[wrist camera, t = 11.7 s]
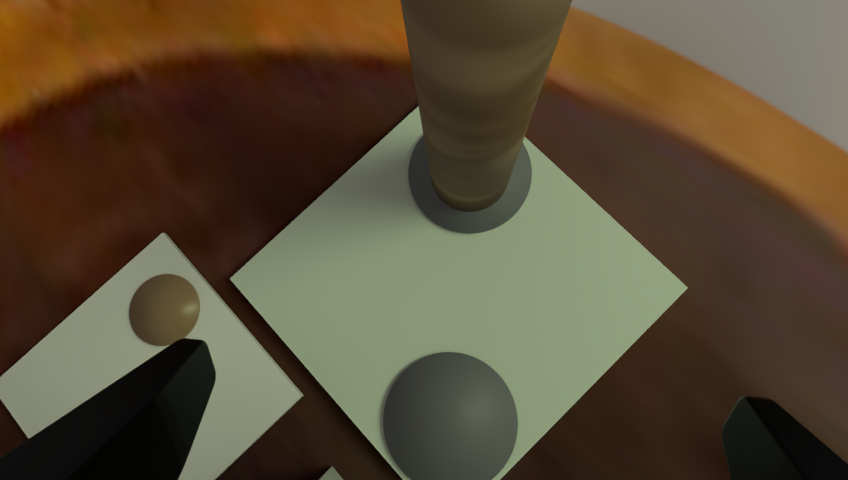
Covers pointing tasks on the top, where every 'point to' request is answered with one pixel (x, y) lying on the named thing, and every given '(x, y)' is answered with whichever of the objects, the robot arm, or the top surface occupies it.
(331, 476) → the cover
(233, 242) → the top surface
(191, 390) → the robot arm
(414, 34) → the pin
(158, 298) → the card
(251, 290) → the board
